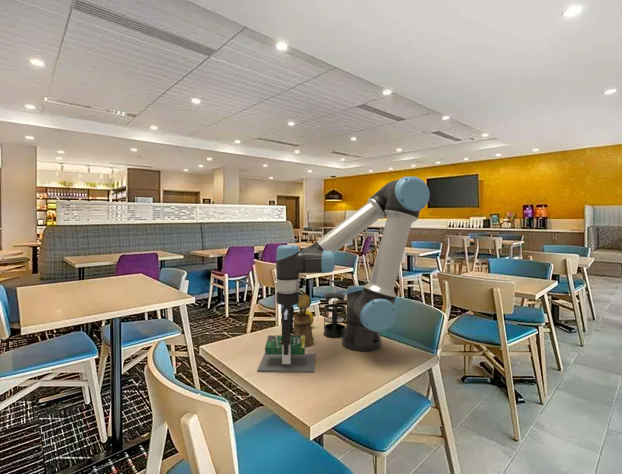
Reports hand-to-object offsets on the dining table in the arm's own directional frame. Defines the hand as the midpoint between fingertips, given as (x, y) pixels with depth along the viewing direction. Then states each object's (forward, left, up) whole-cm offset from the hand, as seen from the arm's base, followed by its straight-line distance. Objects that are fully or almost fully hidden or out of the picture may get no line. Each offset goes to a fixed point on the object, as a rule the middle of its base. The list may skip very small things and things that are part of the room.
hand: (287, 358), depth 117 cm
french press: (-17, -31, -2) cm, 35 cm away
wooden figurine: (-4, -22, -2) cm, 22 cm away
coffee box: (+7, 0, +5) cm, 9 cm away
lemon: (-5, -39, -2) cm, 39 cm away
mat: (0, 0, -2) cm, 2 cm away
